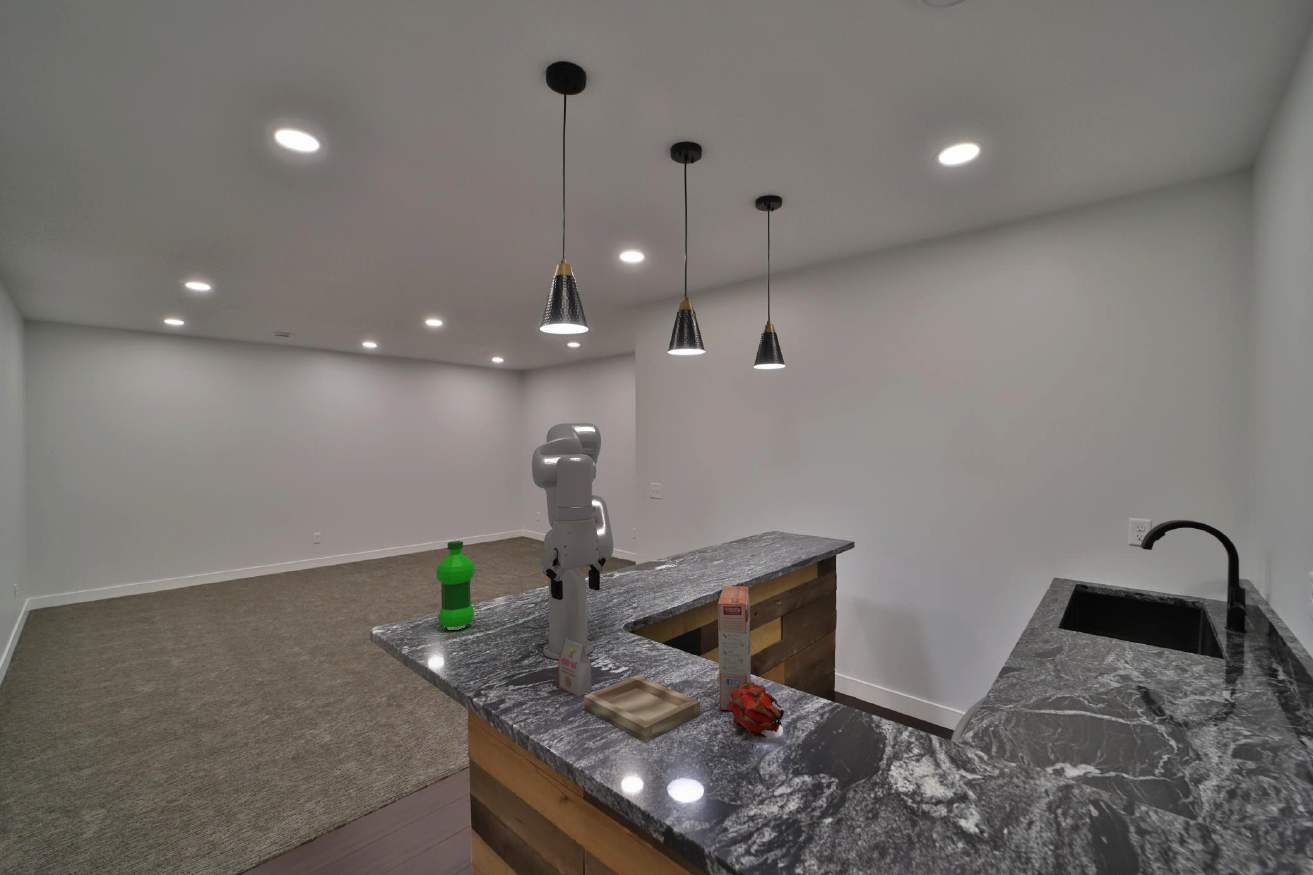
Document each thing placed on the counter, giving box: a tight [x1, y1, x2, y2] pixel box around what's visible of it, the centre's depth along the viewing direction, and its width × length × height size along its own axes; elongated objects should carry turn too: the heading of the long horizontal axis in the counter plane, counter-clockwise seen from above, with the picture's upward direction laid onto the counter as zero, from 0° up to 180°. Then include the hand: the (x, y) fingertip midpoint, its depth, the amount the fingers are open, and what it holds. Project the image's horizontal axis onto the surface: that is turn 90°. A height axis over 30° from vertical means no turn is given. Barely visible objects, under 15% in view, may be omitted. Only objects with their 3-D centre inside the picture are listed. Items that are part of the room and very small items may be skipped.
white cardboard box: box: [557, 639, 593, 698], centre depth 119 cm, size 4×7×10 cm, turn 44°
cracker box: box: [717, 585, 752, 712], centre depth 114 cm, size 14×6×21 cm, turn 168°
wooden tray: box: [583, 675, 701, 743], centre depth 108 cm, size 18×14×2 cm
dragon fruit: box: [726, 680, 785, 739], centre depth 100 cm, size 8×8×12 cm
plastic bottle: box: [435, 540, 476, 628], centre depth 163 cm, size 10×10×25 cm
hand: (576, 593), depth 119 cm, fingers open, 9 cm apart
